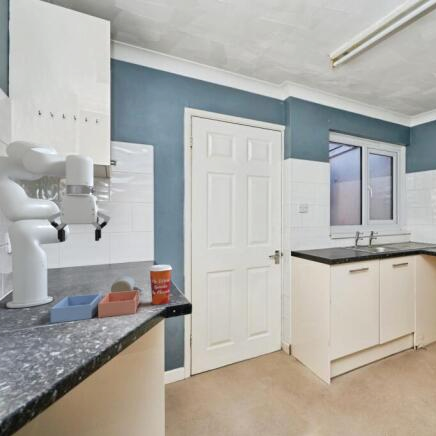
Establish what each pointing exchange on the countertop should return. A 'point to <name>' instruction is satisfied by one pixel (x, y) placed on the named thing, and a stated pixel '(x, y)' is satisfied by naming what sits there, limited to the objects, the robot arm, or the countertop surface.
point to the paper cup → (160, 283)
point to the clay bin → (119, 303)
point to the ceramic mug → (124, 285)
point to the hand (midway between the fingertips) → (80, 241)
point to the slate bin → (75, 308)
